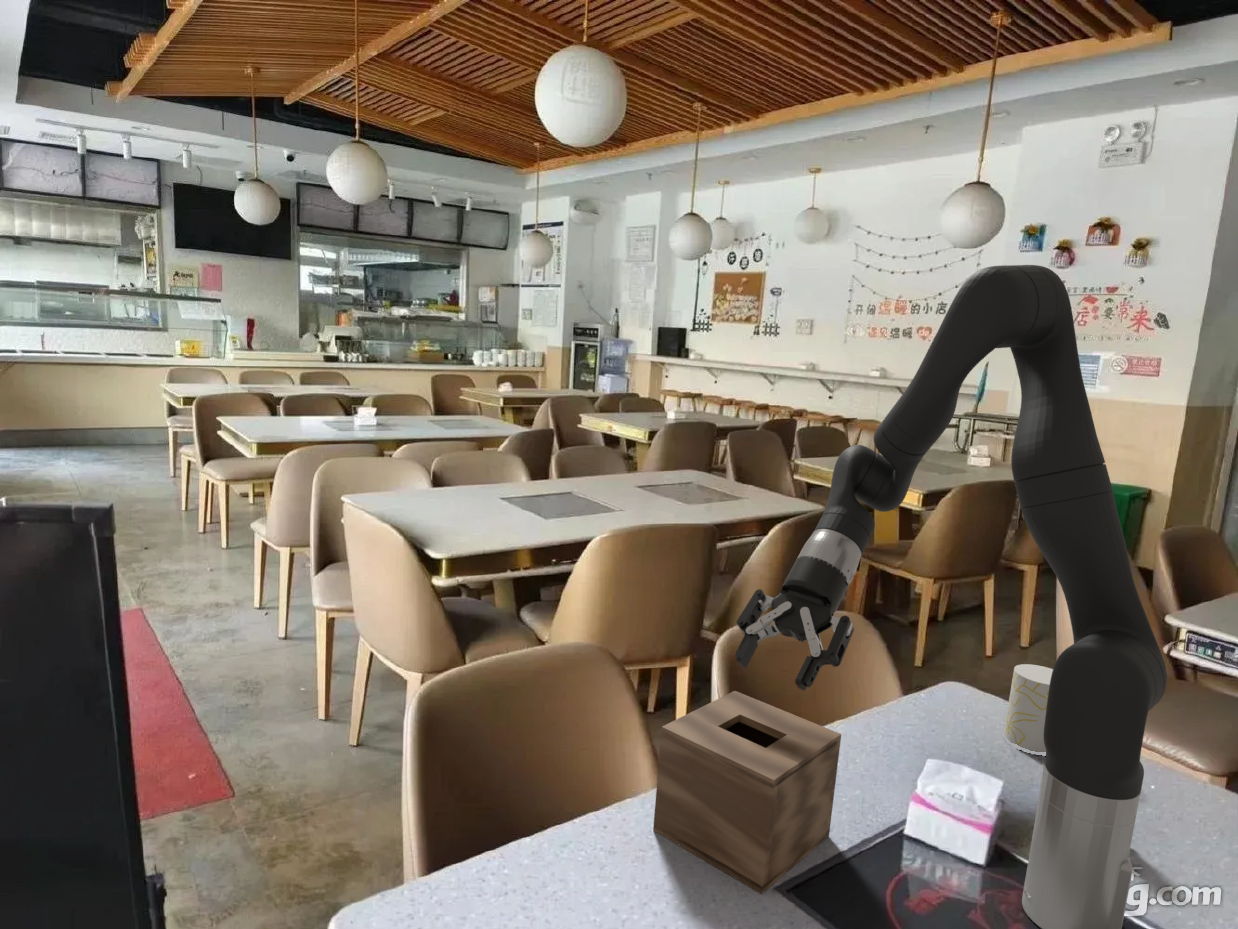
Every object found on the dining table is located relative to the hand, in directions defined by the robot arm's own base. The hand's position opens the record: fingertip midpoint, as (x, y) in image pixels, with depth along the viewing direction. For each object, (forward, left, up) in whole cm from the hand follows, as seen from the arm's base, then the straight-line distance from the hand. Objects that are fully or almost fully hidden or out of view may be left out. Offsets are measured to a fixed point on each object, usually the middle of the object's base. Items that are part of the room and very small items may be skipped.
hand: (769, 675), depth 102 cm
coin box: (+1, +2, -21) cm, 21 cm away
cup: (-36, -45, -21) cm, 61 cm away
